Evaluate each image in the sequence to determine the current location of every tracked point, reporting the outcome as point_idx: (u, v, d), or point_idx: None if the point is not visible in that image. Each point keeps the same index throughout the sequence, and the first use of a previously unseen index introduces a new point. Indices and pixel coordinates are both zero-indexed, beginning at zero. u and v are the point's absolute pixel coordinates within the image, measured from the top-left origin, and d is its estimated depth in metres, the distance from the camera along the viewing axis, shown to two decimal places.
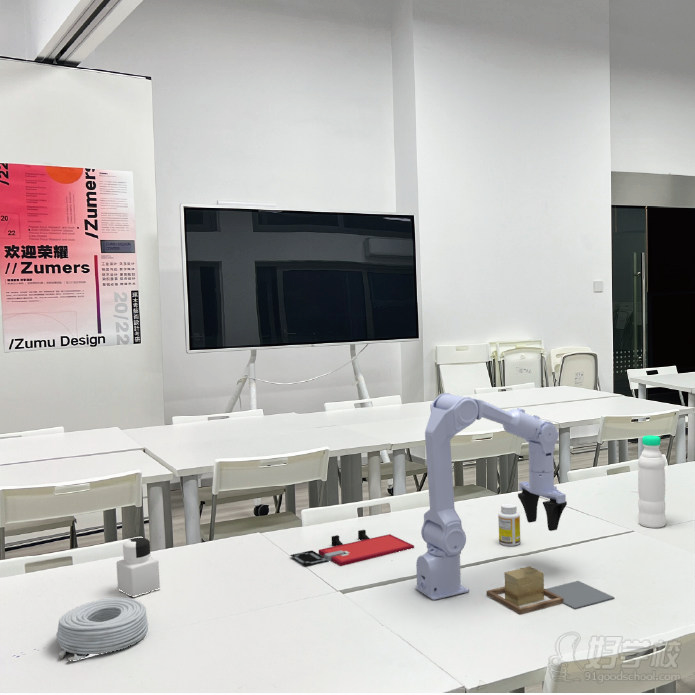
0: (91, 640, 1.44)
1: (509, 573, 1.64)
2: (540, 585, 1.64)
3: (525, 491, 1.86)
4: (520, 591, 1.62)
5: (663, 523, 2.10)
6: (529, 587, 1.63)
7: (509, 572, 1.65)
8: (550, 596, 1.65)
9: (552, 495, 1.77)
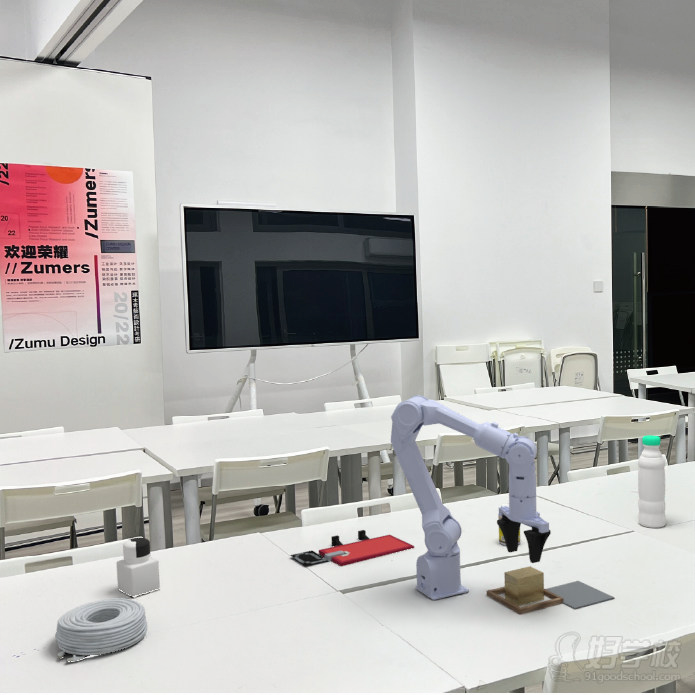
0: (90, 641, 1.44)
1: (509, 573, 1.64)
2: (540, 585, 1.64)
3: (505, 517, 1.68)
4: (520, 591, 1.62)
5: (663, 523, 2.10)
6: (529, 587, 1.63)
7: (509, 572, 1.65)
8: (550, 596, 1.65)
9: (534, 523, 1.58)
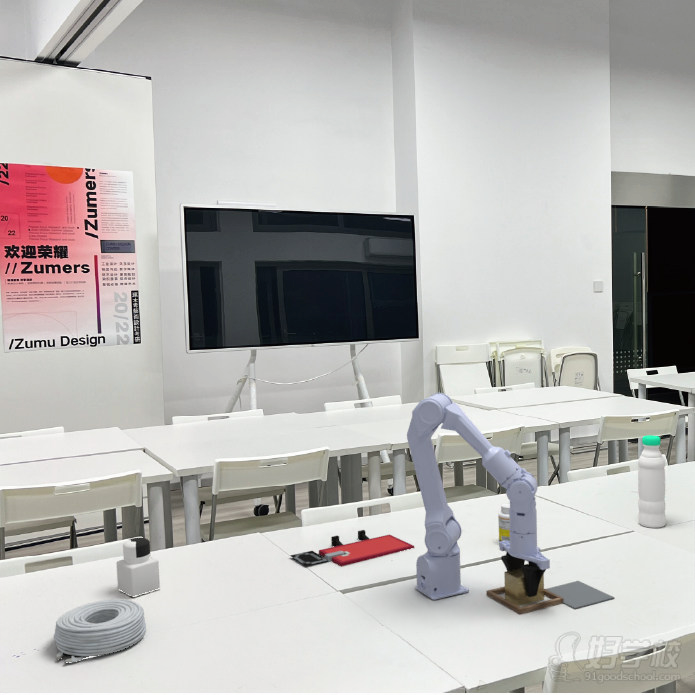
0: (88, 642, 1.44)
1: (510, 573, 1.64)
2: (540, 584, 1.64)
3: (506, 552, 1.68)
4: (520, 591, 1.62)
5: (663, 523, 2.10)
6: None
7: (509, 572, 1.65)
8: (550, 596, 1.65)
9: (535, 560, 1.59)
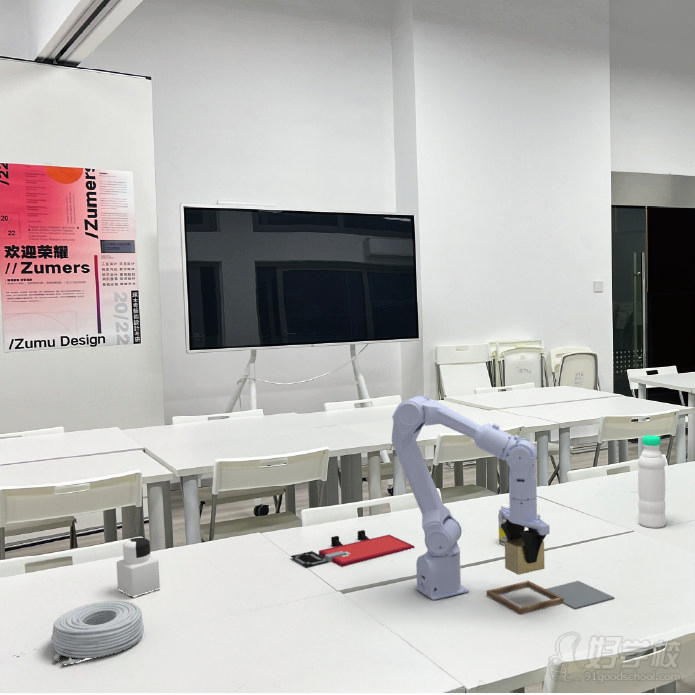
0: (86, 643, 1.43)
1: (510, 542, 1.64)
2: (540, 553, 1.63)
3: None
4: (520, 559, 1.61)
5: (663, 523, 2.10)
6: None
7: (509, 541, 1.64)
8: (550, 596, 1.65)
9: (534, 526, 1.58)
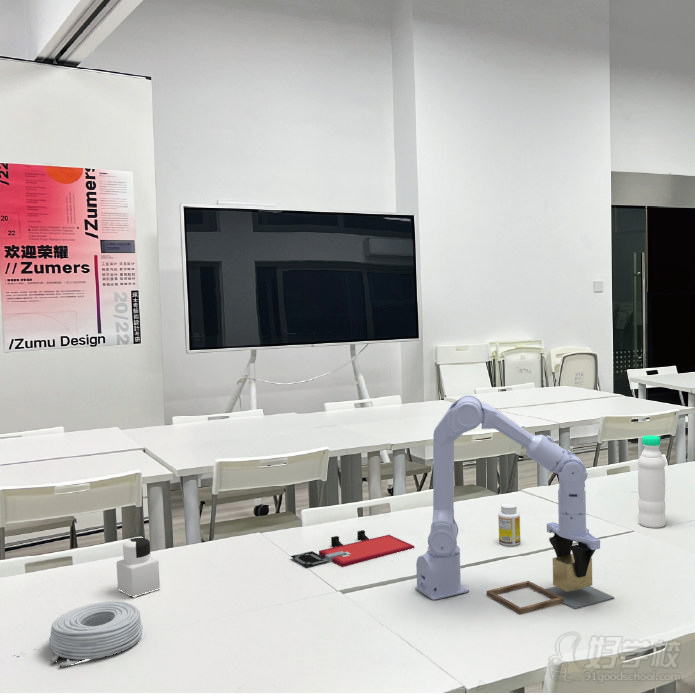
0: (84, 645, 1.42)
1: (558, 559, 1.65)
2: (588, 570, 1.65)
3: None
4: (569, 577, 1.63)
5: (663, 523, 2.10)
6: None
7: (557, 558, 1.66)
8: (550, 596, 1.65)
9: (585, 540, 1.60)
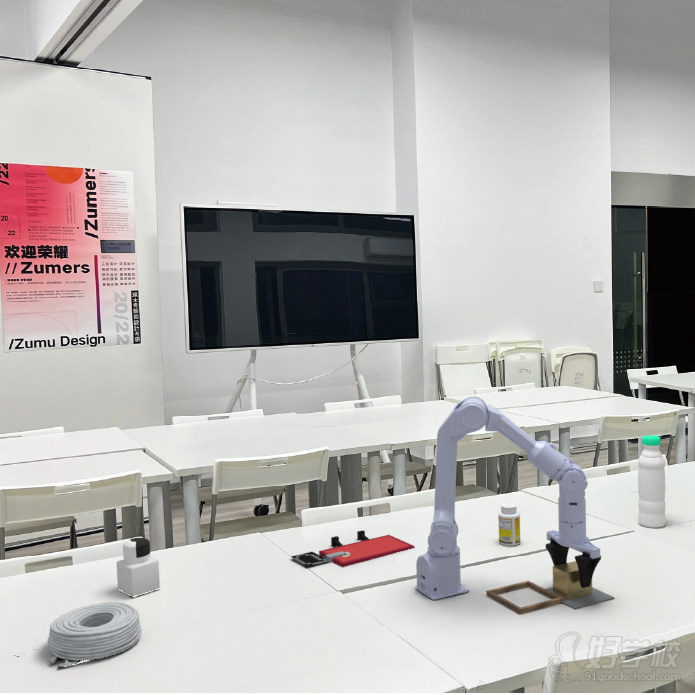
0: (82, 646, 1.42)
1: (558, 567, 1.66)
2: None
3: (554, 542, 1.70)
4: (569, 585, 1.63)
5: (663, 523, 2.10)
6: (578, 581, 1.64)
7: (557, 566, 1.66)
8: (550, 596, 1.65)
9: (585, 549, 1.60)
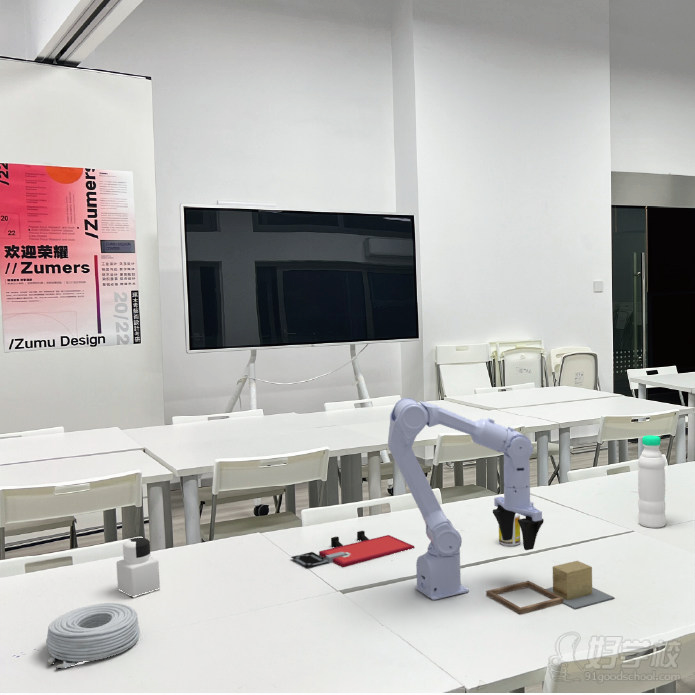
0: (80, 647, 1.42)
1: (558, 567, 1.66)
2: (588, 579, 1.65)
3: (500, 507, 1.76)
4: (569, 585, 1.63)
5: (663, 523, 2.10)
6: (578, 581, 1.64)
7: (557, 566, 1.66)
8: (550, 596, 1.65)
9: (528, 512, 1.66)
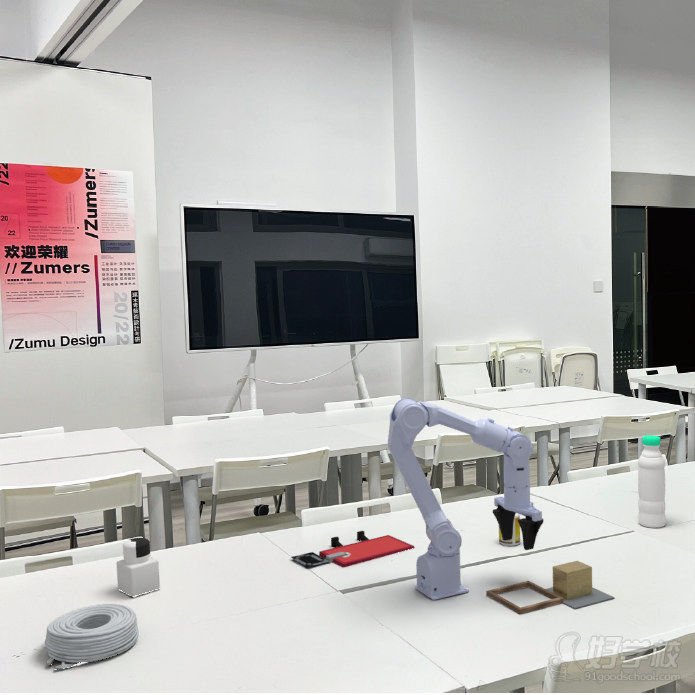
0: (79, 648, 1.41)
1: (558, 567, 1.66)
2: (588, 579, 1.65)
3: (500, 507, 1.76)
4: (569, 585, 1.63)
5: (663, 523, 2.10)
6: (578, 581, 1.64)
7: (557, 566, 1.66)
8: (550, 596, 1.65)
9: (528, 512, 1.66)
